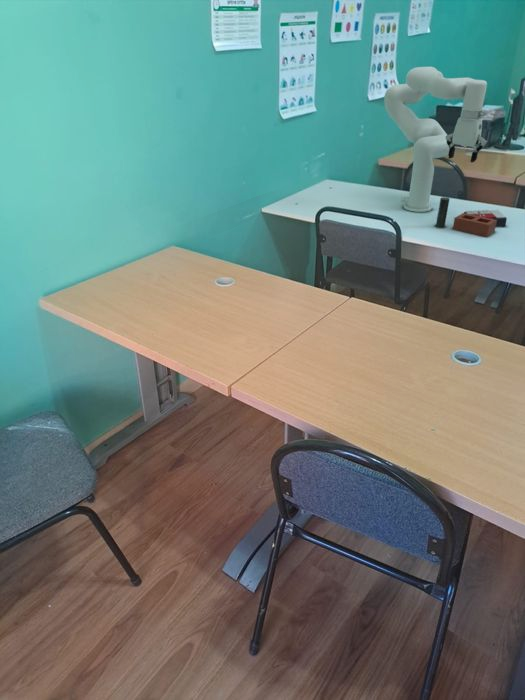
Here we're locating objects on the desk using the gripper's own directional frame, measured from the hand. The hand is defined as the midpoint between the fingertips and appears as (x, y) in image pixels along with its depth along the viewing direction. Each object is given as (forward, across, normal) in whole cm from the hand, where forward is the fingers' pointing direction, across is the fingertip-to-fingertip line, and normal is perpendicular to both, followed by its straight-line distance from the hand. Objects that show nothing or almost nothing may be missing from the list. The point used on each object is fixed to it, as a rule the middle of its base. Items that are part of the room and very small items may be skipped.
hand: (461, 159), depth 213 cm
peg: (+26, -1, +10) cm, 28 cm away
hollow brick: (+26, -14, +6) cm, 29 cm away
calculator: (+26, -12, -7) cm, 29 cm away
